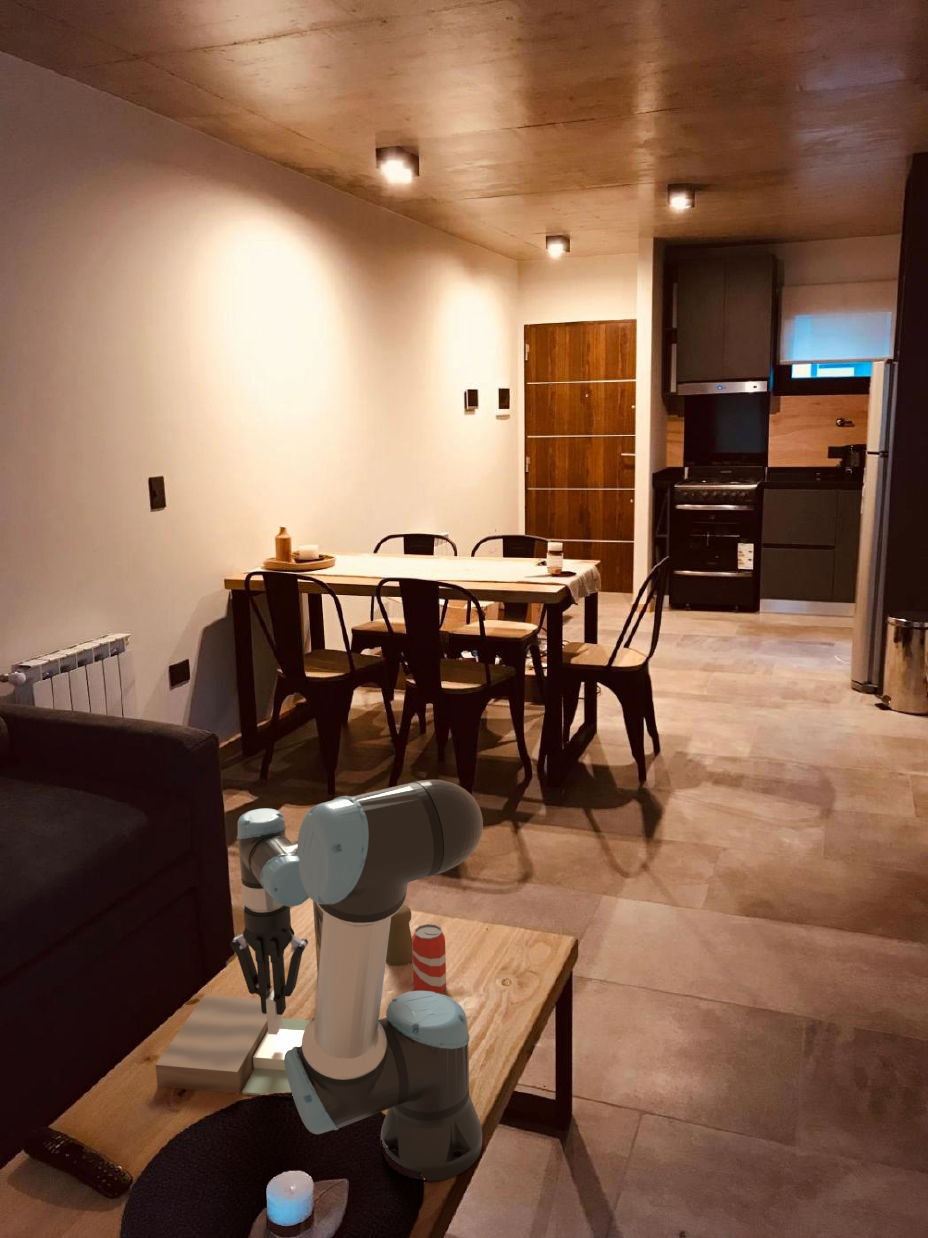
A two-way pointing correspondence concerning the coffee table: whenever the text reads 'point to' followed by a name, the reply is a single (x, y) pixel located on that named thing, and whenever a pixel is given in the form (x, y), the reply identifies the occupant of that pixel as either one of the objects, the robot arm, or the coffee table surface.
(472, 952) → the coffee table surface
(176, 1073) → the tan flat block
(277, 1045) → the coaster
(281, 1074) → the mat
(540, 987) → the coffee table surface
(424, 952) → the beverage can
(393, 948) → the pepper mill
